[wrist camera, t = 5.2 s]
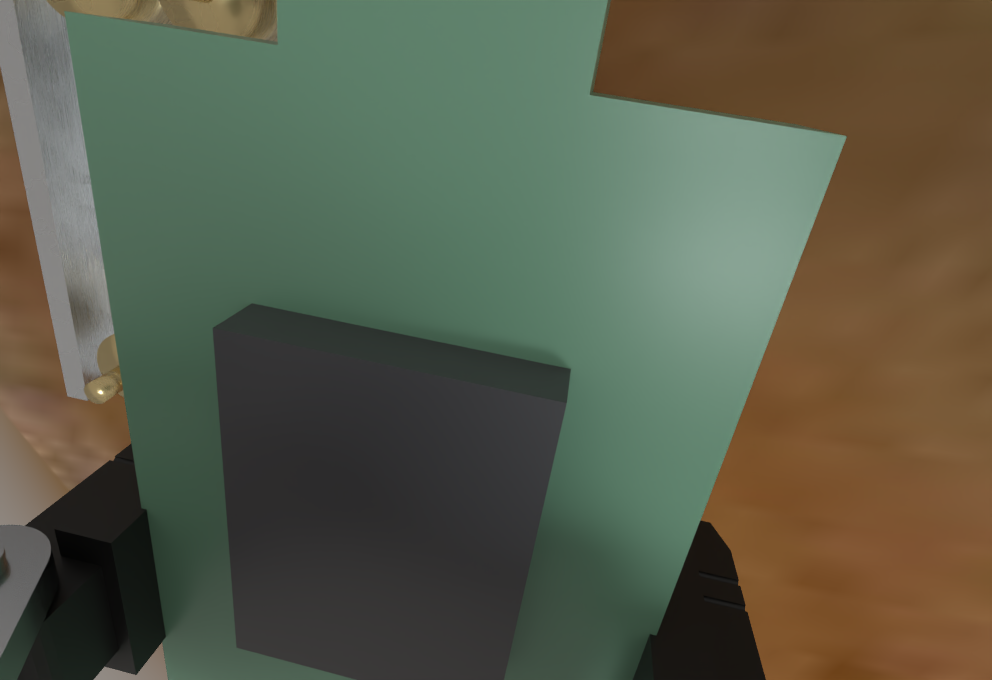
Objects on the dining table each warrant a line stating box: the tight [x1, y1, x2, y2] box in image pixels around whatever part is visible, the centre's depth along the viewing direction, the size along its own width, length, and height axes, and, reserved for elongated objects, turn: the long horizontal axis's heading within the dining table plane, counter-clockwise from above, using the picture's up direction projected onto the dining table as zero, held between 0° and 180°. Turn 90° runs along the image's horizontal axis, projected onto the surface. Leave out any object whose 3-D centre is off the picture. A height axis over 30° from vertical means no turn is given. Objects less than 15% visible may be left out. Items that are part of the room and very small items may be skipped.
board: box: [64, 0, 847, 680], centre depth 7 cm, size 6×16×2 cm, turn 172°
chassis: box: [0, 0, 278, 404], centre depth 22 cm, size 13×20×6 cm, turn 172°
